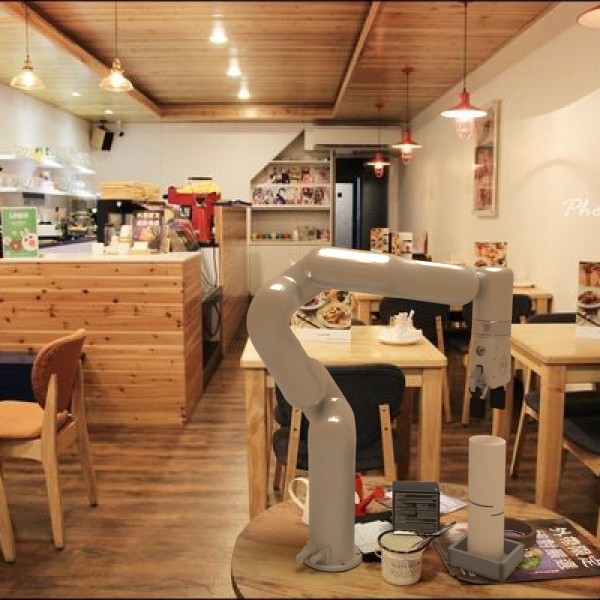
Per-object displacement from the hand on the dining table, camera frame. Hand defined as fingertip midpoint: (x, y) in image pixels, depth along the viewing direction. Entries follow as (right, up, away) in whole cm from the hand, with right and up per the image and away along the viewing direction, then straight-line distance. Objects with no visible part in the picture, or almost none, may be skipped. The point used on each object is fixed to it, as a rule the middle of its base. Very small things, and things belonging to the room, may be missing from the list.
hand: (487, 413), depth 136 cm
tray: (0, -31, +3) cm, 31 cm away
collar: (+9, -30, +13) cm, 34 cm away
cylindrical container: (0, -31, +3) cm, 31 cm away
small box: (-11, -30, +19) cm, 37 cm away
